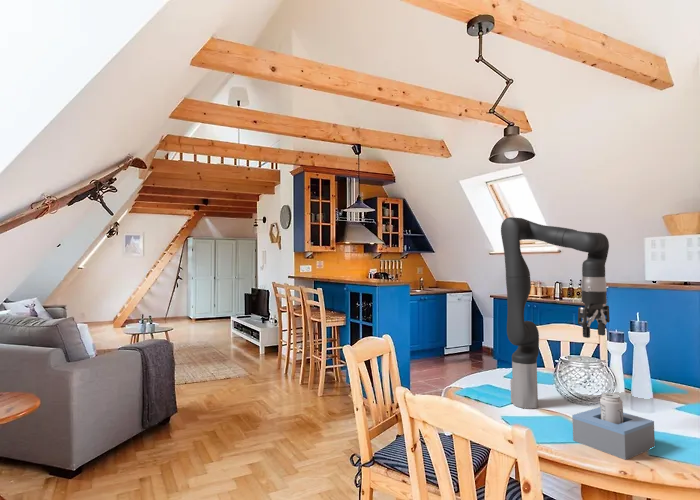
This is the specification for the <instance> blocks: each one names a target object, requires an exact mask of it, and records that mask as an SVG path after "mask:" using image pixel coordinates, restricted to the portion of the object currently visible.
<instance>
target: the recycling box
mask: <svg viewBox="0 0 700 500" xmlns="http://www.w3.org/2000/svg"><path fill="white" fill-rule="evenodd" d="M571 419H572V441H573V442H577V443H579V444H582V445H585V446H586V447H589V448H593V449H596V450H598V451H601V452H604V453H606V454H609V455H611V456H614V457H616V458H619V459H622V460H624V461H625V460H628V459H631V458H634V457H636V456H638V455H640V454H643V453H645V452H648V451H650V450H651V449H650V448H652V447H654V446H655V447H656V439H655V436H656V435H655V421H654V420H651V419H648V418H644V417H641V416H637V415H633V414H630V413H627V412H623V423H621V424H615V423H612V422H608V421H605V420H602V419H601V407H600V406H599V407H595V408H592V409H588V410H585V411H582V412H579V413H575V414H572V418H571ZM649 449H650V450H649Z"/></svg>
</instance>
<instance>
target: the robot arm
mask: <svg viewBox="0 0 700 500" xmlns="http://www.w3.org/2000/svg"><path fill="white" fill-rule="evenodd" d="M500 235H501V242H502V248H503V253H504V254H503V255H504V262H505V263H504V264H505V265H504V266H505V267H504V268H505V284H506V296H507V297H506V299H507V300H506V303H507V305H506V306H507V315H506V317H507V318H506V320H507V321H506V335H507V339H508V341H509V342H510V343H511V344H512V345H514V346H517V348H516V350H515V351H514V352H513V353H512V355H511V370H512V377H511V379H510V403H511V404H513V405H514V406H515V407H518V408H521V409H536V408H538V407H539V397H538V396H539V392H538V366H537V364H538V362H537V361H538V356H539V353H540V349H539V348H540V345H539V344H540V333H539V329H538V327H537V325H536V324H535V322H532V321H531V320H525V308H526V304H527V302H528V298H529V296H530V293H531V286H532V284H531V282H532V281H531V272H530V269H529V267H528V264H527V262H526V260H525V259H524V257H523V255H522V252H521V241H523V240H524V241H529V240H532V241H540V242H545V243H546V244H550V245H553V246H556V247H562V248H568V249H573V250H575V251H580V252H583V253H587V257H586V259H585V260H583V262H582V264H581V266H582V267H581V272H582V273H581V275H582V276H581V277H582V278H581V302H582V303H583V304H584V307H582V306H579V307H578V309H577V324H578V325H580V326H581V328H582V337H583V338H587V339H589V338H591V327H590V326H591V324H592V323H593V322H594V321H595V320H596V321H597V335H598V336H606V326H607V324H608V323H610V321H611V320H610V306H609V305H606V303H607V281H606V263H607V259H608V254H609V249H610V243H609V238H608V237H607V235H605V234H604V233H601V232H592V231H591V232H588V231H581V230H577V229H573V228H567V227H560V226H552V225H543V224H540V223H536V222H534V221H531V220H528V219H525V218H523V217H506V218H504V219H503V221H502V223H501V225H500Z"/></svg>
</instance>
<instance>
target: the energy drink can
mask: <svg viewBox="0 0 700 500" xmlns="http://www.w3.org/2000/svg"><path fill="white" fill-rule="evenodd" d="M599 401H600V403H599V405H600V406H599V407H601V419H602V420H605V421H608V422H612V423H615V424H621V423H623V413H624V403H623V400H622V399H621V396H620V395H619V394H616V393H610V392H603V393H602V394H601V397H600V399H599Z"/></svg>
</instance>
